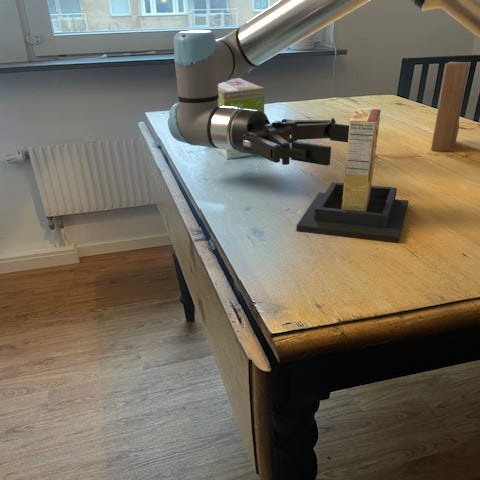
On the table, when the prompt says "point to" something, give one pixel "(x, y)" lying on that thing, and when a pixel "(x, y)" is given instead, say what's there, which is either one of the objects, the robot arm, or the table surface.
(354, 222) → the dock pad
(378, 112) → the candy box
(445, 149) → the wooden block
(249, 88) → the tea box
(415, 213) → the table surface
